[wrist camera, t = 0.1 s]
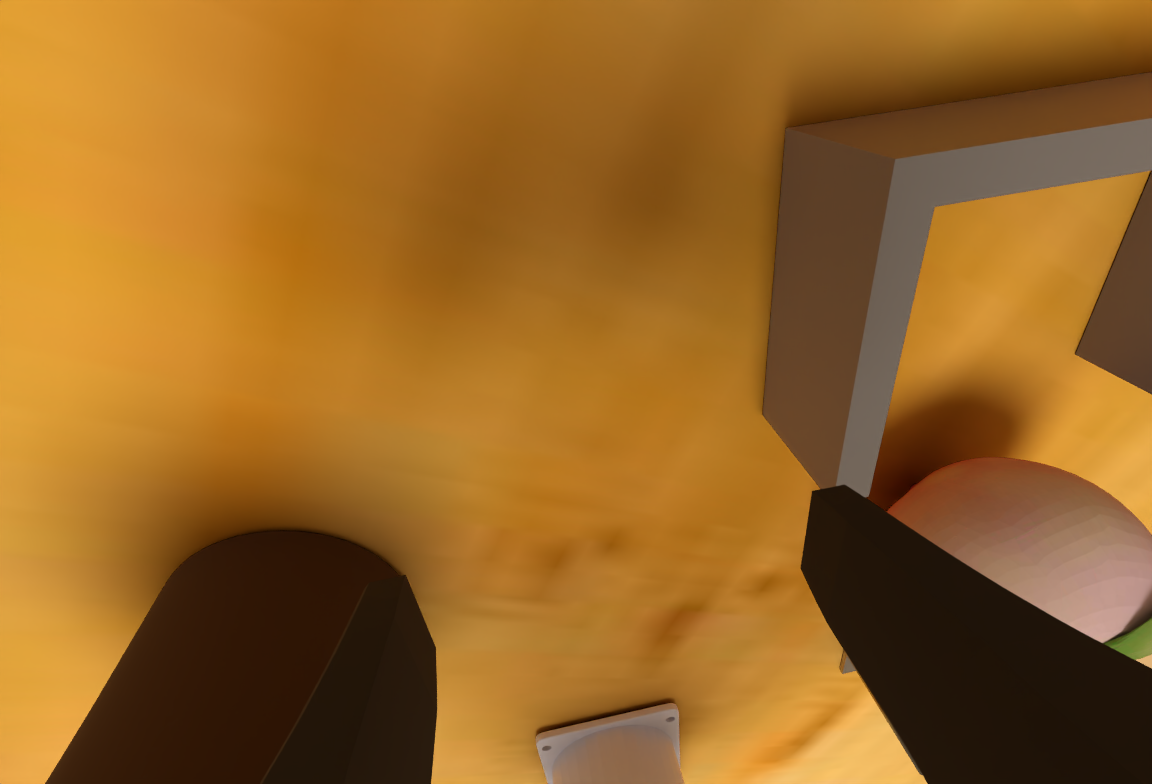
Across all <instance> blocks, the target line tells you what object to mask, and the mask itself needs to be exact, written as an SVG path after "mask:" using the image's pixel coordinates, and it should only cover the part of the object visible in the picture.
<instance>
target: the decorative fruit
mask: <svg viewBox="0 0 1152 784" xmlns="http://www.w3.org/2000/svg"><path fill="white" fill-rule="evenodd" d="M887 513H889V514H890V515H892V516H893V517H895V518H896V519H898V520H899V521H901V522H902V523H904V524H905V525H907V526H908V527H910V528H911V529H913V530H914V531H916V532H917V533H919V534H920V535H922V536H923V537H925V538H926V539H928V540H929V541H931V542H932V543H934V544H935V545H937V546H938V547H940V548H942V549H943V550H945V551H946V552H948V553H949V554H951V555H952V556H954V557H956V558H957V559H959V560H960V561H962V562H963V563H965V564H966V565H968V566H970V567H971V568H973V569H974V570H976V571H978V572H979V573H981V574H982V575H984V576H986V577H987V578H989V579H991V580H992V581H994V582H996V583H997V584H999V585H1000V586H1002V587H1004V588H1005V589H1007V590H1009V591H1010V592H1012V593H1014V594H1015V595H1017V596H1019V597H1021V598H1022V599H1024V600H1026V601H1028V602H1029V603H1031V604H1033V605H1034V606H1036V607H1038V608H1040V609H1041V610H1043V611H1045V612H1046V613H1048V614H1050V615H1052V616H1053V617H1055V618H1057V619H1059V620H1060V621H1062V622H1064V623H1066V624H1068V625H1069V626H1071V627H1073V628H1075V629H1077V630H1079V631H1080V632H1082V633H1084V634H1086V635H1088V636H1090V637H1091V638H1093V639H1095V640H1097V641H1099V642H1101V643H1103V644H1105V645H1107V646H1109V647H1111V648H1113V649H1115V650H1117V651H1118V652H1120V653H1122V654H1124V655H1126V656H1128V657H1130V658H1132V659H1134V660H1136V659H1140V658H1143V657H1146V656H1148V655H1151V654H1152V535H1151V534H1150V532H1149V531H1148V530H1147V528H1146V527H1145V526H1144V525H1143V523H1142V522H1141V521H1140V520H1139V519H1138V518H1137V517H1136V516H1135V515H1134V514H1133V513H1132V512H1131V511H1130V510H1128V509H1127V508H1126V507H1125V506H1124V505H1123V504H1122V503H1121V502H1119V501H1118V500H1117V499H1115V498H1114V497H1113V496H1112V495H1110V494H1109V493H1107V492H1106V491H1104V490H1103V489H1101V488H1100V487H1098V486H1096V485H1095V484H1093V483H1091V482H1089V481H1087V480H1085V479H1083V478H1081V477H1079V476H1077V475H1075V474H1072V473H1069V472H1067V471H1064V470H1062V469H1059V468H1056V467H1052V466H1049V465H1045V464H1041V463H1037V462H1032V461H1026V460H1019V459H1012V458H1002V457H981V458H974V459H968V460H963V461H959V462H956V463H953V464H950V465H947V466H944V467H942V468H940V469H938V470H936V471H934V472H932V473H931V474H929V475H928V476H927V477H925V478H924V479H923V480H921V481H920V482H919V483H918V484H915V485H912V486H911V488H910V490H909V492H907V493H906V494H905V495H904V496H903V497H902V498H900V499H899V500H898V501H897V502H895V503H894V504H893V505H892V506H891V507H890V508H889V510H888V511H887Z"/></svg>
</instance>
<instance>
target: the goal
mask: <svg viewBox="0 0 1152 784" xmlns="http://www.w3.org/2000/svg"><path fill="white" fill-rule="evenodd" d="M1151 170H1152V72H1148V73H1141V74H1135V75H1128V76H1122V77H1115V78H1109V79H1102V80H1096V81H1089V82H1083V83H1076V84H1070V85H1063V86H1057V87H1050V88H1044V89H1037V90H1030V91H1024V92H1017V93H1011V94H1004V95H998V96H991V97H985V98H978V99H972V100H965V101H959V102H952V103H946V104H939V105H933V106H926V107H920V108H913V109H906V110H900V111H893V112H887V113H880V114H874V115H867V116H861V117H854V118H848V119H841V120H835V121H828V122H822V123H815V124H809V125H802V126H795V127H789V128H786V132H785V145H784V157H783V169H782V182H781V194H780V206H779V219H778V231H777V243H776V256H775V268H774V280H773V293H772V305H771V317H770V330H769V342H768V355H767V367H766V379H765V392H764V404H763V416H764V417H765V419H766V420H767V421H768V422H769V424H770V425H771V426H772V428H773V429H774V430H775V431H776V433H777V434H778V435H779V436H780V438H781V439H782V440H783V442H784V443H785V444H786V445H787V447H788V448H789V449H790V450H791V452H792V453H793V454H794V456H795V457H796V458H797V459H798V461H799V462H800V463H801V464H802V466H803V467H804V468H805V470H806V471H807V472H808V473H809V475H810V476H811V477H812V478H813V480H814V481H815V482H816V484H817V485H818V486H819V487H820V489H825V488H830V487H835V486H840V485H844V484H845V485H846V486H848V487H850V488H851V489H853V490H854V491H856V492H857V493H859V494H860V495H862V496H863V497H869V493H870V489H871V485H872V480H873V476H874V471H875V467H876V463H877V458H878V454H879V449H880V445H881V441H882V436H883V432H884V427H885V423H886V418H887V414H888V410H889V405H890V401H891V396H892V392H893V388H894V383H895V379H896V374H897V370H898V366H899V361H900V357H901V352H902V348H903V344H904V339H905V335H906V330H907V326H908V322H909V317H910V313H911V308H912V304H913V300H914V295H915V291H916V286H917V282H918V278H919V273H920V269H921V264H922V260H923V256H924V251H925V247H926V242H927V238H928V234H929V229H930V225H931V220H932V216H933V212H934V207H936V206H942V205H948V204H954V203H960V202H966V201H972V200H978V199H984V198H990V197H996V196H1002V195H1008V194H1014V193H1020V192H1026V191H1032V190H1038V189H1044V188H1049V187H1055V186H1061V185H1067V184H1073V183H1079V182H1085V181H1091V180H1097V179H1103V178H1109V177H1115V176H1121V175H1127V174H1133V173H1139V172H1145V171H1151ZM1075 355H1077V356H1079V357H1081V358H1083V359H1085V360H1087V361H1089V362H1091V363H1093V364H1094V365H1096V366H1098V367H1100V368H1102V369H1104V370H1106V371H1108V372H1110V373H1112V374H1114V375H1116V376H1117V377H1119V378H1121V379H1123V380H1125V381H1127V382H1129V383H1131V384H1133V385H1135V386H1137V387H1139V388H1141V389H1142V390H1144V391H1146V392H1148V393H1150V394H1152V172H1151V175H1150V177H1149V179H1148V182H1147V184H1146V187H1145V189H1144V191H1143V194H1142V196H1141V199H1140V201H1139V203H1138V206H1137V208H1136V211H1135V213H1134V215H1133V218H1132V220H1131V223H1130V225H1129V227H1128V230H1127V232H1126V234H1125V237H1124V239H1123V242H1122V244H1121V246H1120V249H1119V251H1118V254H1117V256H1116V258H1115V261H1114V263H1113V266H1112V268H1111V270H1110V273H1109V275H1108V278H1107V280H1106V282H1105V285H1104V287H1103V290H1102V292H1101V294H1100V297H1099V299H1098V301H1097V304H1096V306H1095V309H1094V311H1093V313H1092V316H1091V318H1090V321H1089V323H1088V325H1087V328H1086V330H1085V333H1084V335H1083V337H1082V340H1081V342H1080V345H1079V347H1078V349H1077V352H1076V354H1075Z"/></svg>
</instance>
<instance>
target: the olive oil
mask: <svg viewBox="0 0 1152 784" xmlns="http://www.w3.org/2000/svg"><path fill="white" fill-rule="evenodd" d="M394 577H399V575H398V574H397V573H396V572H395V571H394V570H393V569H392V568H391V567H390V566H389V565H388V564H387V563H385V562H384V561H383V560H382V559H380V558H379V557H377V556H376V555H374V554H372V553H371V552H369V551H367V550H365V549H363V548H361V547H359V546H357V545H355V544H352V543H350V542H347V541H344V540H341V539H338V538H334V537H330V536H326V535H321V534H316V533H309V532H299V531H268V532H259V533H252V534H246V535H241V536H237V537H233V538H230V539H226V540H223V541H220V542H218V543H215V544H213V545H210V546H208V547H206V548H204V549H202V550H201V551H199V552H197V553H196V554H194V555H192V556H191V557H190V558H188V559H187V560H186V561H185V562H183V563H182V564H181V565H180V566H179V567H178V568H177V569H176V571H175V572H174V573H173V574H172V575H171V577H170V578H169V579H168V581H167V582H166V584H165V586H164V587H163V589H162V590H161V592H160V594H159V595H158V597H157V599H156V600H155V602H154V604H153V605H152V607H151V609H150V610H149V612H148V614H147V615H146V617H145V619H144V621H143V622H142V624H141V626H140V627H139V629H138V631H137V632H136V634H135V636H134V637H133V639H132V641H131V643H130V644H129V646H128V648H127V649H126V651H125V653H124V654H123V656H122V658H121V659H120V661H119V663H118V665H117V666H116V668H115V670H114V671H113V673H112V675H111V676H110V678H109V680H108V681H107V683H106V685H105V686H104V688H103V690H102V692H101V693H100V695H99V697H98V698H97V700H96V702H95V703H94V705H93V707H92V708H91V710H90V712H89V713H88V715H87V717H86V718H85V720H84V722H83V723H82V725H81V726H80V728H79V730H78V731H77V733H76V735H75V736H74V738H73V739H72V741H71V743H70V744H69V746H68V748H67V749H66V751H65V752H64V754H63V756H62V757H61V759H60V761H59V762H58V764H57V765H56V767H55V769H54V770H53V772H52V774H51V775H50V777H49V778H48V780H47V782H46V783H45V784H260V782H261V781H262V779H263V777H264V776H265V774H266V772H267V771H268V769H269V767H270V765H271V764H272V762H273V760H274V759H275V757H276V755H277V754H278V752H279V750H280V749H281V747H282V745H283V744H284V742H285V740H286V739H287V737H288V735H289V733H290V732H291V730H292V728H293V726H294V725H295V723H296V721H297V719H298V718H299V716H300V714H301V712H302V710H303V708H304V706H305V705H306V703H307V701H308V699H309V697H310V695H311V693H312V692H313V690H314V688H315V686H316V684H317V682H318V681H319V679H320V677H321V675H322V673H323V671H324V669H325V667H326V666H327V664H328V662H329V660H330V658H331V656H332V654H333V652H334V650H335V648H336V646H337V644H338V642H339V640H340V638H341V636H342V634H343V632H344V630H345V628H346V626H347V624H348V622H349V620H350V618H351V616H352V613H353V611H354V609H355V607H356V605H357V603H358V601H359V599H360V597H361V595H362V593H363V590H364V588H365V587H366V586H367V585H368V583H369V582H374V581H379V580H384V579H389V578H394Z"/></svg>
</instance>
